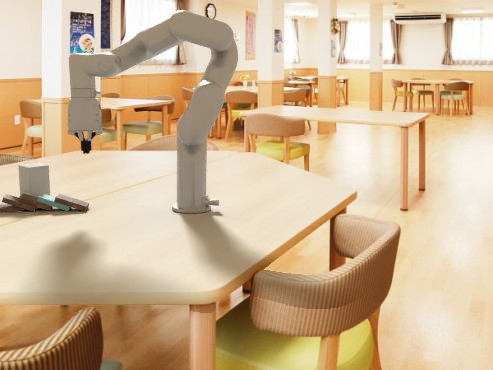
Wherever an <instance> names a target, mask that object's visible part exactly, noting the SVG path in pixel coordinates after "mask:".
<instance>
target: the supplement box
mask: <svg viewBox="0 0 493 370" xmlns="http://www.w3.org/2000/svg"><path fill="white" fill-rule="evenodd" d="M17 167H18V180H19V183H18V184H19V196H20V195H21V194H22V193H24V194H27V195H30V196H34V197H37V198H38V196H40V195H41V194H42V193H43V194H47V195H50V196H51V185H50V181H51V180H50V165H48V164H44V163H41V162H33V163H25V164H18V166H17Z"/></svg>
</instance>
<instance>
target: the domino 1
mask: <svg viewBox="0 0 493 370" xmlns="http://www.w3.org/2000/svg"><path fill="white" fill-rule="evenodd" d="M24 210H25V209H23V208H20V207H16V206H13V205H9V204H6V203H2V204H0V213H11V212H12V213H13V212H14V213H18V212H17V211H23V212H24Z"/></svg>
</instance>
